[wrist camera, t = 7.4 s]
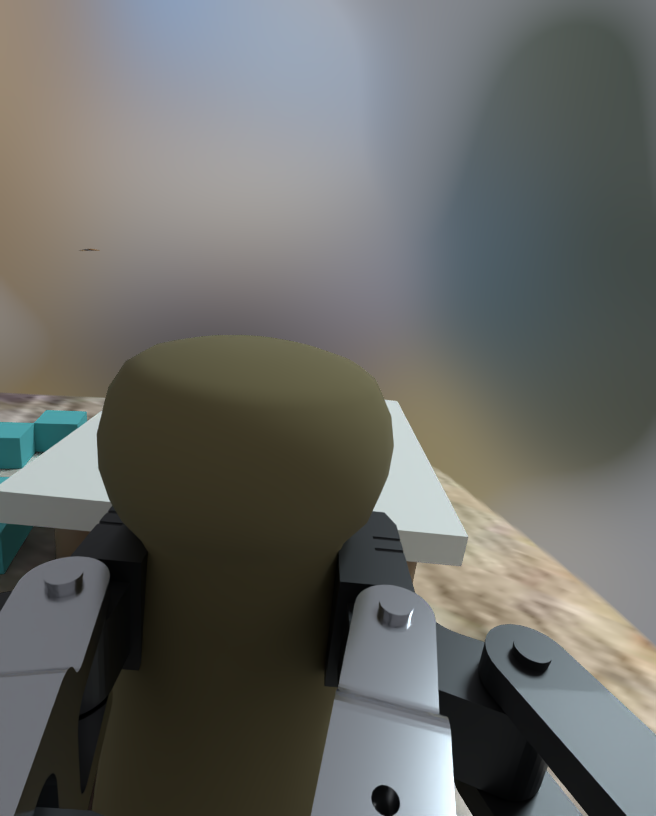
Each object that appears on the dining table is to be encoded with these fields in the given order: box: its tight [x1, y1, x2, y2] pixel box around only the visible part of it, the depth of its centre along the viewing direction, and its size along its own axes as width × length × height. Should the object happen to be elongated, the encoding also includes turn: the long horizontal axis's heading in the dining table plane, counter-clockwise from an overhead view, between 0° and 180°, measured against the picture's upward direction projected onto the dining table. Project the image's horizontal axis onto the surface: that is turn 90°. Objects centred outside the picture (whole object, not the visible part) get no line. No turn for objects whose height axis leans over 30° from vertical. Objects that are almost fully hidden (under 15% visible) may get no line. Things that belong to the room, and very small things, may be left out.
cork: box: [92, 335, 394, 816], centre depth 10 cm, size 6×6×11 cm
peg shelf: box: [0, 400, 468, 584], centre depth 24 cm, size 16×16×4 cm
